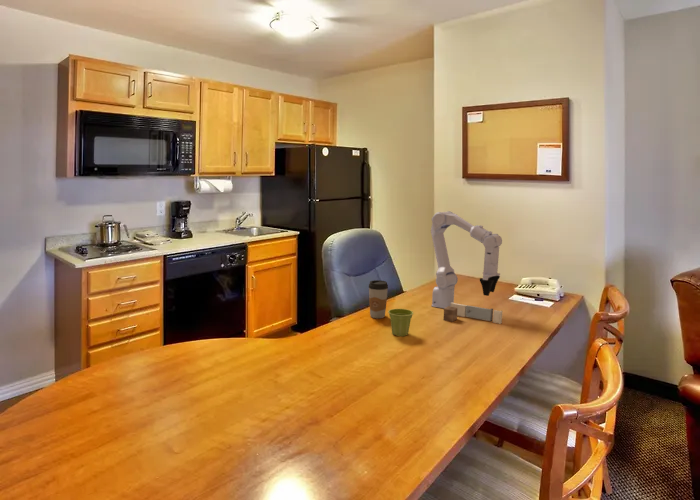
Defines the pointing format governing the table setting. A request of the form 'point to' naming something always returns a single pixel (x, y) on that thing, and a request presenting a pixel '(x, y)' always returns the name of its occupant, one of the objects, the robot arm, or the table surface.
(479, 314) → the door
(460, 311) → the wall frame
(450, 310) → the block
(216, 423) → the table surface
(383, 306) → the coffee cup
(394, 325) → the plant pot
